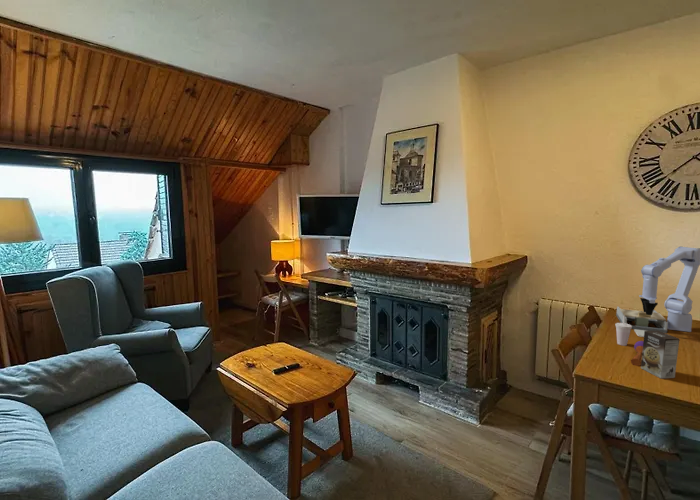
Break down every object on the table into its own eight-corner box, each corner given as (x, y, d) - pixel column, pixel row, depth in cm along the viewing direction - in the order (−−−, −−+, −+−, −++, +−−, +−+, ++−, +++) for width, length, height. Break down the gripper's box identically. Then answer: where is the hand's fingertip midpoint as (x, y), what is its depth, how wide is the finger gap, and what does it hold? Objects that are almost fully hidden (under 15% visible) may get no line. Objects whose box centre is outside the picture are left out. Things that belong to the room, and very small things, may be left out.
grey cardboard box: (639, 368, 148) (643, 330, 146) (654, 367, 148) (658, 329, 146) (660, 378, 139) (664, 338, 137) (676, 378, 139) (680, 338, 137)
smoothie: (628, 342, 174) (630, 314, 173) (632, 347, 169) (634, 318, 167) (612, 340, 177) (614, 313, 175) (615, 345, 171) (617, 317, 170)
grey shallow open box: (654, 319, 208) (655, 310, 207) (667, 333, 186) (668, 322, 186) (616, 315, 217) (616, 306, 216) (624, 327, 195) (624, 318, 194)
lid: (659, 314, 199) (659, 309, 199) (666, 320, 188) (666, 315, 187) (620, 309, 208) (620, 305, 207) (624, 316, 196) (624, 311, 196)
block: (645, 324, 199) (646, 316, 199) (647, 327, 195) (648, 318, 194) (634, 323, 202) (635, 315, 201) (636, 326, 197) (637, 317, 197)
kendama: (625, 354, 152) (634, 338, 166) (628, 368, 152) (636, 351, 166) (643, 356, 148) (651, 339, 161) (646, 370, 148) (653, 352, 161)
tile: (658, 333, 186) (658, 332, 186) (663, 339, 178) (663, 338, 178) (634, 330, 191) (634, 329, 191) (638, 336, 182) (638, 335, 182)
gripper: (637, 284, 194) (635, 308, 196) (643, 290, 181) (641, 316, 183) (653, 285, 191) (651, 310, 192) (661, 291, 178) (658, 318, 180)
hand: (647, 313), depth 188 cm, fingers open, 5 cm apart
